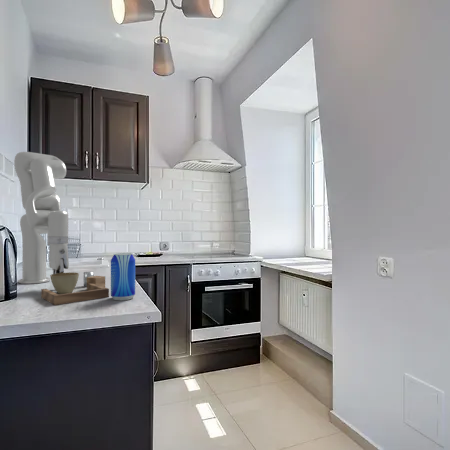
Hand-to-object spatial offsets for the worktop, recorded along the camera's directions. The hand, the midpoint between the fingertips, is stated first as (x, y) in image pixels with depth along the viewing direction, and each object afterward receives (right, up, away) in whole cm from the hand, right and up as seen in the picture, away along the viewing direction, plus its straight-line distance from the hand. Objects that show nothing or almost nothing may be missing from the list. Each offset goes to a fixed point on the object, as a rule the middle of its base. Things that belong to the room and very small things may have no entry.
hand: (57, 286), depth 134 cm
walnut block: (+15, -2, +2) cm, 15 cm away
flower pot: (+6, -2, -6) cm, 8 cm away
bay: (+13, -1, -14) cm, 19 cm away
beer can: (+31, -2, -16) cm, 35 cm away
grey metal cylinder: (+9, -1, +8) cm, 12 cm away
